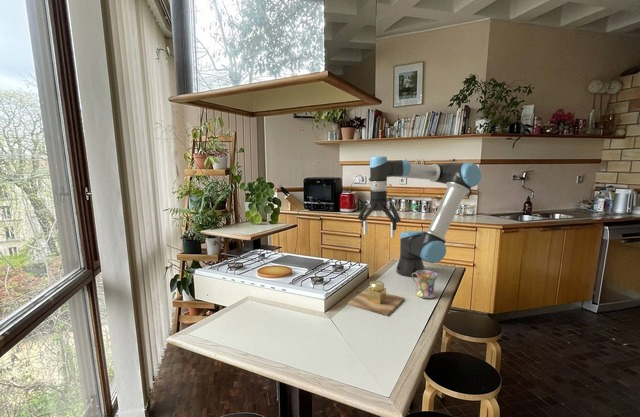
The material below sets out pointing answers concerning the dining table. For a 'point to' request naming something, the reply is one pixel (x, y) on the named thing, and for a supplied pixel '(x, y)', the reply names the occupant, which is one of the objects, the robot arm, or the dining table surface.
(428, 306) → the dining table surface
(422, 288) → the mug
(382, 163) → the robot arm
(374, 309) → the plate
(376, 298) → the knob
